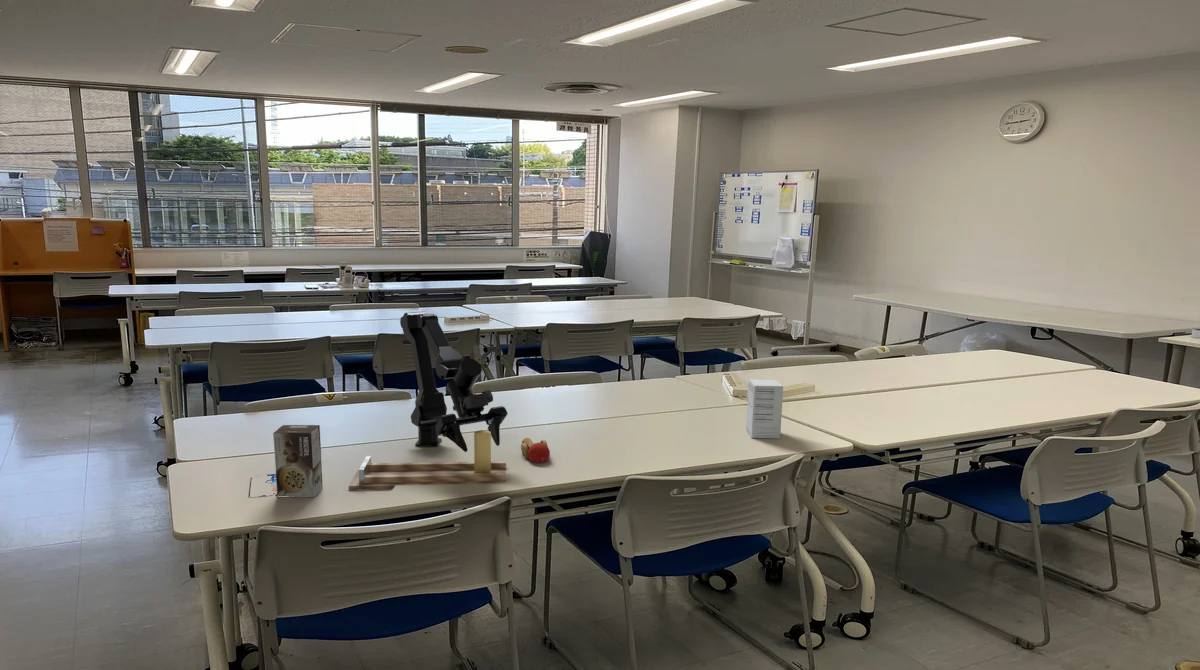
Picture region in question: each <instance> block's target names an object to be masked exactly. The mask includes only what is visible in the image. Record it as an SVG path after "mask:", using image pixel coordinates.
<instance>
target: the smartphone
mask: <svg viewBox="0 0 1200 670" xmlns="http://www.w3.org/2000/svg"><path fill="white" fill-rule="evenodd" d="M266 475H267V476H272V477H271V479H269V480H267V481H266V482H265V483H268V485H269V484H271V486H270V487H273V488H272V489H273V490H272V491H274V490H275V491H274V492H275V493H277V483H276V473H270V474H266ZM275 493H273V494H275Z"/></svg>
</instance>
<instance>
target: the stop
mask: <svg viewBox="0 0 1200 670" xmlns="http://www.w3.org/2000/svg"><path fill="white" fill-rule="evenodd" d="M371 463H372V455H366V456H365V458H364V459H363V461H362V463H361V465H360V466H359V467H360V468H358V469H359V483H364V476H365V475H369V473H370V471H371V466H370V465H371Z"/></svg>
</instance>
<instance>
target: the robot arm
mask: <svg viewBox="0 0 1200 670" xmlns="http://www.w3.org/2000/svg"><path fill="white" fill-rule="evenodd" d="M399 322H400V327H401V328H402V333H403V336H404V337H405V338H406V339H407V340H408V342H409V343H410V344H411V351H412V356H413V363H414V367H415V369H414V370H415V374H416V380H417V386H418V394H417V396H416V399H415V400H414V403H415V405H414V406H415V407H414V409H413V411H412V413H411V415H410V419H411V420H410V421H411V424H413V425H414V426H416V427H417V428H418V431H417V432H418V435H417V437H418V440H417V441H416V442H415V443H414V446H415V447H419V446H420V447H438V446H439V445H440V443H441V441H442V438H441V437H439V436H442V437H444V438H448V439H449V440H450V441H451V442H453V443H454V444H455V445H456V446H457V447H458V448H460V449H461V450H462V451H463V452H464V453H467V452H468V446H467V443H466V441H465V438H464V436H463V433H462V431H461V426H464V425H471V424H475V423H476V424H477V423H481V422H485V423H486V425H487V426H488V427H487V431H490V432H491V439H492V440H493V443H494V444H495V446H496V447H499V446H500V444H501V439H500V437H501V436H500V428H501V424H502V423H503V422H504V420H505V419H506V417H507V416H508V411H507V408H506V407H504V406H503V405H500V406H494V407H493V406H492V407H490V409H489V410H488V411H487V413H482V412H484V410H485V407H486V406H489V403H492V402H493V401H494V396H493V393H492V391H491V389H487V390H483V391H481V393H473V391H472V387H473V386H474V385H475V383H476V382H477V381H478V378H479V377H480V375H481V373H482V372H483V368H482V367H483V366H482V364H481V363H480V362H478V361H477V360H475V358H471V355H461V353H460V352H459V351H457V350H456V349H453V348H452V347H451V344H450V342H449V341H448V339H447V337H446V335H445V333H444V331H443V329H442V327H441V325H440V323H439V317H438V315H437V314H435V313H428V312H427V311H409V312H404V313H403V316H401V317H400V320H399ZM429 347H430V348H429ZM430 349H431V351H432V353H433V354H434V357H435V363H434V368H435V372H436V375H437V376H438V378H440V380H448V382H447V384H446V388H445V393H446V394H448V393H449V395H450V398H451V400H452V403H453V407H452V409H453V411H455V412H456V414H457V416H456V414H455V413H448V414H447V412H448V409H447V404H446V402H445V401H446V400H445V394H444V393H443V392H440V391H439V389H437V386H436V381H435V375H434V370H433V365H432V364H433V363H432V358H431V353H430Z"/></svg>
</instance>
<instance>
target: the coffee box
mask: <svg viewBox="0 0 1200 670" xmlns="http://www.w3.org/2000/svg"><path fill="white" fill-rule="evenodd" d="M272 435H273V448H274V450H273V451H274V461H275V462H274V463H275V464H274V465H275V474H276V483H277V495H276V497H277V496H290V497H289V498H315V497H317V495H318V494H319V493H320V492H321V491H322V490H323V488H324V486H323V485H324V484H323V469H322V468H323V467H322V449H321V448H322V447H321V426H320V424H283V425H281V426H280V427H278V429H277V430H275V431H274V432H273V433H272ZM292 496H294V497H292Z"/></svg>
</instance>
